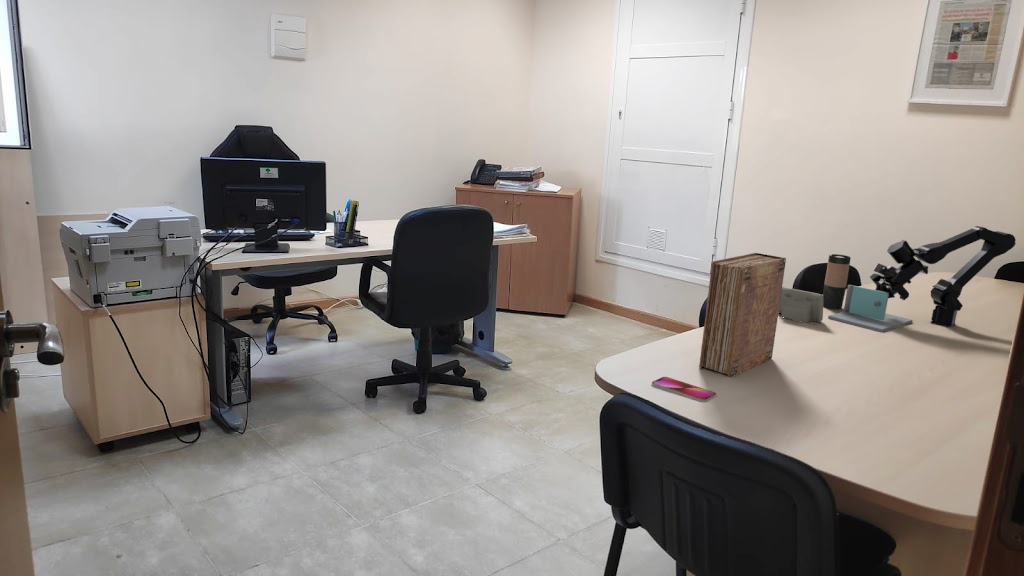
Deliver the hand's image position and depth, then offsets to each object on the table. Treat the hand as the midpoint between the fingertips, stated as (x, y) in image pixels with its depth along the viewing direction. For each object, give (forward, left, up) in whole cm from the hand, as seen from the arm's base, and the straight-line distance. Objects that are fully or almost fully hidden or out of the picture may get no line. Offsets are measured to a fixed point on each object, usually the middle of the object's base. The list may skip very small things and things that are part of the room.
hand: (869, 301), depth 252 cm
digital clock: (+14, +22, -7) cm, 27 cm away
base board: (-1, 0, -7) cm, 7 cm away
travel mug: (+16, -6, -7) cm, 19 cm away
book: (-4, +86, -7) cm, 86 cm away
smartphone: (-9, +116, -7) cm, 116 cm away
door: (+1, +1, -5) cm, 6 cm away
